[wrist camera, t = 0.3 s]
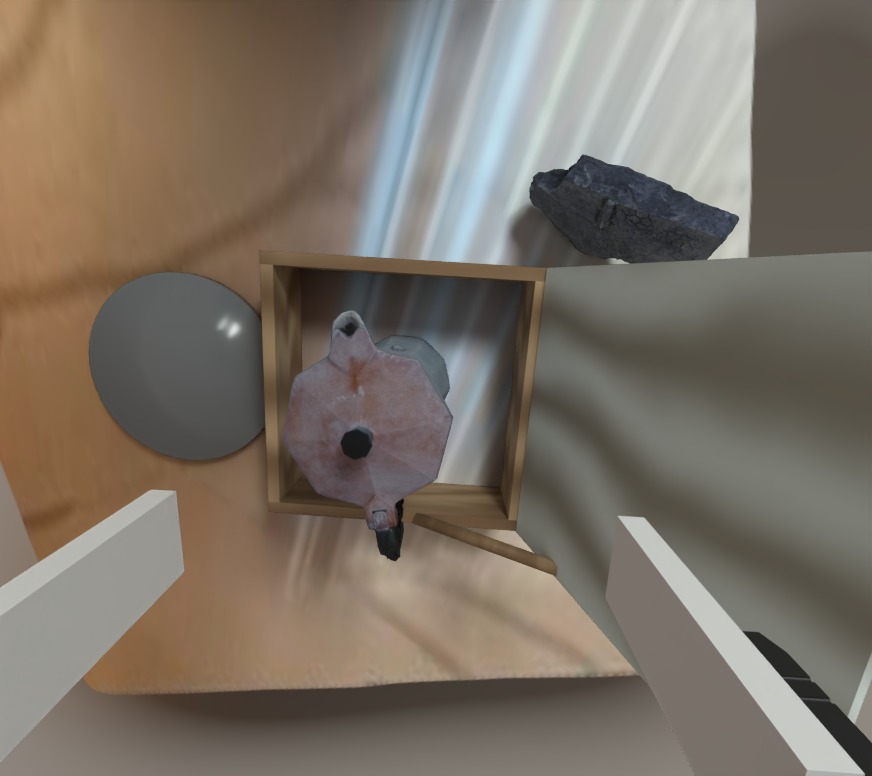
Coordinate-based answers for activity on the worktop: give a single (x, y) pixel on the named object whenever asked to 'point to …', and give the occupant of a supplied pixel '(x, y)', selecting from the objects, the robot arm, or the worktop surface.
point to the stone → (628, 214)
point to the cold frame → (661, 436)
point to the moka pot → (370, 423)
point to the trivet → (180, 365)
